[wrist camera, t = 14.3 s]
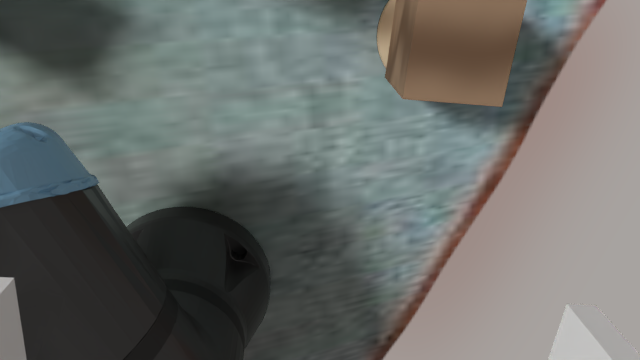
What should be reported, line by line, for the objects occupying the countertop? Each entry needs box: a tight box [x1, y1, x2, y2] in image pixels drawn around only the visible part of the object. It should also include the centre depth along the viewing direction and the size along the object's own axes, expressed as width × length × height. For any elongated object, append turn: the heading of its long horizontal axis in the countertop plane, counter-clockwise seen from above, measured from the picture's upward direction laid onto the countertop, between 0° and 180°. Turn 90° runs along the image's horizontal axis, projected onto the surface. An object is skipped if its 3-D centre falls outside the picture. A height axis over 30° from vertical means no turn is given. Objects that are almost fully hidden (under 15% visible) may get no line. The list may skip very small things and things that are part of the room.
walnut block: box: [385, 0, 527, 107], centre depth 38 cm, size 7×7×7 cm
